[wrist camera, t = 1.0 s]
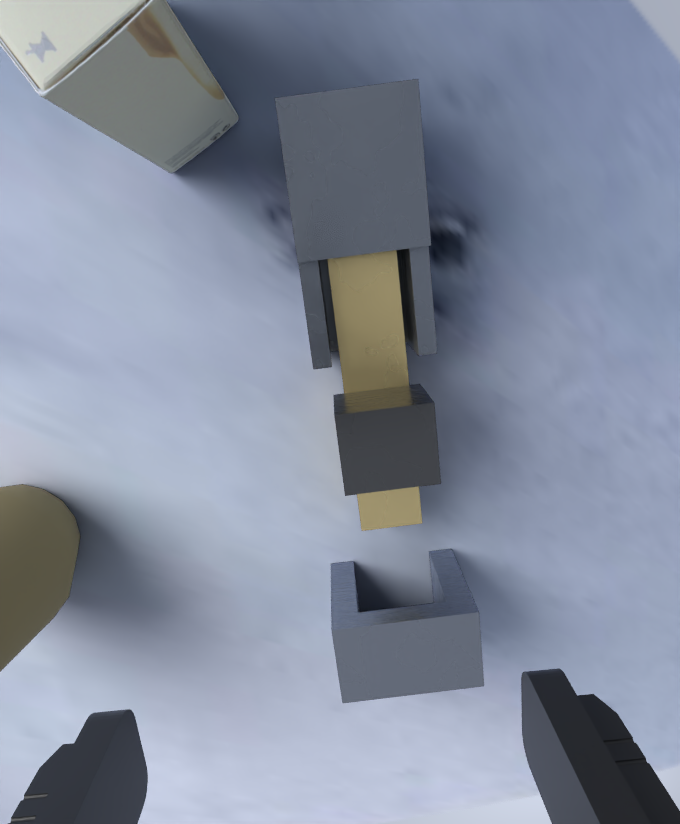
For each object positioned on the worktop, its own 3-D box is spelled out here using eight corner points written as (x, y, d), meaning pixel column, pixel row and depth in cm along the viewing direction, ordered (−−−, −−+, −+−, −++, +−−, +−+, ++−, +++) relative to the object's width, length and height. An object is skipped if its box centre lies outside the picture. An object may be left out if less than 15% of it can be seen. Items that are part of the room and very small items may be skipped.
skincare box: (243, 120, 26) (174, 3, 14) (171, 178, 27) (47, 111, 15) (153, -12, 25) (-7, -264, 13) (79, 52, 25) (-141, -133, 13)
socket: (330, 563, 32) (331, 630, 26) (451, 548, 32) (479, 612, 26) (339, 626, 33) (342, 703, 27) (456, 611, 33) (484, 686, 27)
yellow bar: (302, 148, 26) (294, 112, 19) (388, 137, 26) (408, 97, 19) (349, 506, 30) (355, 570, 24) (422, 497, 30) (447, 558, 24)
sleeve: (285, 131, 26) (274, 97, 21) (399, 115, 26) (418, 78, 21) (315, 351, 29) (313, 372, 24) (419, 338, 29) (439, 355, 24)
